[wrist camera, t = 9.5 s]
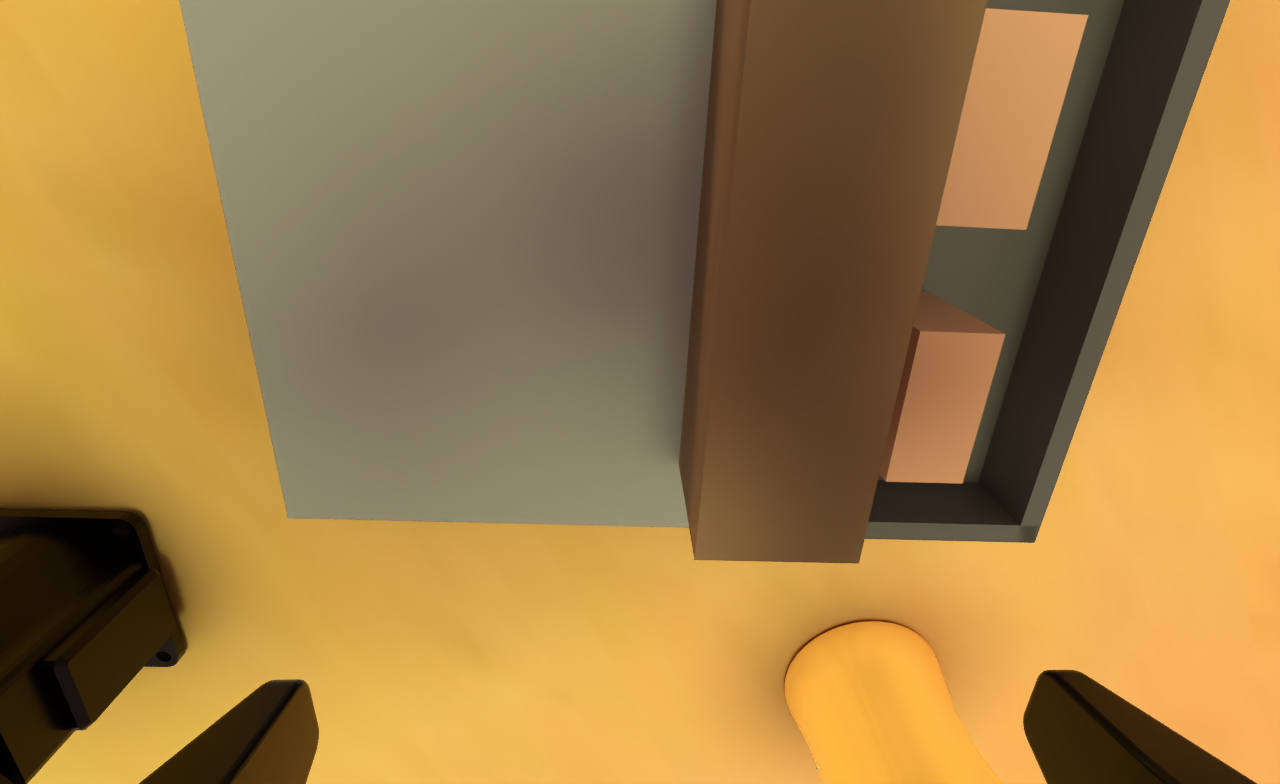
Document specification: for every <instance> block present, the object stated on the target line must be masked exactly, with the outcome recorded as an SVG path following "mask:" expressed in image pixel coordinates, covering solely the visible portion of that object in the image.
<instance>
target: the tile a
mask: <svg viewBox="0 0 1280 784" xmlns="http://www.w3.org/2000/svg"><path fill="white" fill-rule="evenodd" d="M1004 338H1005V334H1004V333H1002V332H1001V331H999V330H997V329H995V328H993V327H991V326H990V325H988V324H986V323H984V322H982V321H980V320H979V319H977V318H975V317H973V316H971V315H969V314H968V313H966V312H964V311H962V310H960V309H958V308H956V307H955V306H953V305H951V304H949V303H947V302H945V301H944V300H942V299H940V298H938V297H936V296H934V295H933V294H931V293H929V292H926V291H921V293H920V298H919V302H918V306H917V311H916V315H915V320H914V324H913V328H912V333H911V337H910V341H909V346H908V350H907V355H906V359H905V363H904V368H903V372H902V376H901V381H900V385H899V390H898V394H897V398H896V403H895V407H894V411H893V416H892V420H891V425H890V429H889V433H888V438H887V442H886V446H885V451H884V455H883V460H882V464H881V468H880V475H881V476H882V477H883V479H884V480H885V482H919V483H960V484H962V483H963V480H964V476H965V473H966V469H967V466H968V463H969V459H970V456H971V452H972V449H973V445H974V442H975V438H976V435H977V431H978V428H979V424H980V421H981V418H982V414H983V411H984V407H985V404H986V400H987V397H988V393H989V390H990V386H991V383H992V379H993V376H994V372H995V369H996V366H997V362H998V359H999V355H1000V352H1001V348H1002V345H1003V341H1004Z"/></svg>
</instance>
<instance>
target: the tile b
mask: <svg viewBox="0 0 1280 784" xmlns="http://www.w3.org/2000/svg"><path fill="white" fill-rule="evenodd" d="M1087 18H1088V15H1080V14H1065V13H1050V12H1035V11H1019V10H1004V9H989V8H986V9H985V13H984V18H983V22H982V26H981V31H980V35H979V40H978V44H977V48H976V53H975V57H974V61H973V66H972V70H971V75H970V79H969V83H968V88H967V92H966V96H965V101H964V105H963V110H962V114H961V118H960V123H959V127H958V131H957V136H956V140H955V145H954V149H953V153H952V158H951V162H950V166H949V171H948V175H947V180H946V184H945V188H944V193H943V197H942V201H941V206H940V210H939V215H938V219H937V223H936V225H939V226H959V227H979V228H999V229H1019V230H1026V229H1027V225H1028V222H1029V219H1030V215H1031V212H1032V208H1033V205H1034V201H1035V198H1036V194H1037V191H1038V188H1039V184H1040V181H1041V177H1042V174H1043V170H1044V167H1045V163H1046V160H1047V156H1048V153H1049V150H1050V146H1051V143H1052V139H1053V136H1054V132H1055V129H1056V125H1057V122H1058V118H1059V115H1060V112H1061V108H1062V105H1063V101H1064V98H1065V94H1066V91H1067V87H1068V84H1069V81H1070V77H1071V74H1072V70H1073V67H1074V63H1075V60H1076V56H1077V53H1078V49H1079V46H1080V43H1081V39H1082V36H1083V32H1084V29H1085V25H1086V22H1087Z"/></svg>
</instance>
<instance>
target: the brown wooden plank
mask: <svg viewBox="0 0 1280 784" xmlns="http://www.w3.org/2000/svg"><path fill="white" fill-rule="evenodd" d="M986 5H987V0H717V2H716V14H715V26H714V38H713V51H712V63H711V75H710V87H709V100H708V112H707V124H706V136H705V149H704V161H703V173H702V185H701V198H700V210H699V222H698V235H697V247H696V259H695V271H694V284H693V296H692V308H691V320H690V333H689V345H688V357H687V369H686V382H685V394H684V406H683V418H682V431H681V443H680V455H679V469H680V475H681V481H682V487H683V493H684V499H685V505H686V511H687V517H688V523H689V529H690V535H691V541H692V547H693V553H694V559H695V560H726V561H773V562H820V563H859V560H860V556H861V551H862V547H863V543H864V538H865V534H866V529H867V525H868V521H869V516H870V512H871V508H872V503H873V499H874V495H875V490H876V486H877V481H878V477H879V473H880V468H881V464H882V460H883V455H884V451H885V446H886V442H887V438H888V433H889V429H890V425H891V420H892V416H893V411H894V407H895V403H896V398H897V394H898V390H899V385H900V381H901V376H902V372H903V368H904V363H905V359H906V355H907V350H908V346H909V341H910V337H911V333H912V328H913V324H914V320H915V315H916V311H917V306H918V302H919V298H920V293H921V289H922V285H923V280H924V276H925V271H926V267H927V263H928V258H929V254H930V250H931V245H932V241H933V236H934V232H935V228H936V223H937V219H938V215H939V210H940V206H941V201H942V197H943V193H944V188H945V184H946V180H947V175H948V171H949V166H950V162H951V158H952V153H953V149H954V145H955V140H956V136H957V131H958V127H959V123H960V118H961V114H962V110H963V105H964V101H965V96H966V92H967V88H968V83H969V79H970V75H971V70H972V66H973V61H974V57H975V53H976V48H977V44H978V40H979V35H980V31H981V26H982V22H983V18H984V13H985V9H986Z"/></svg>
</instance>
